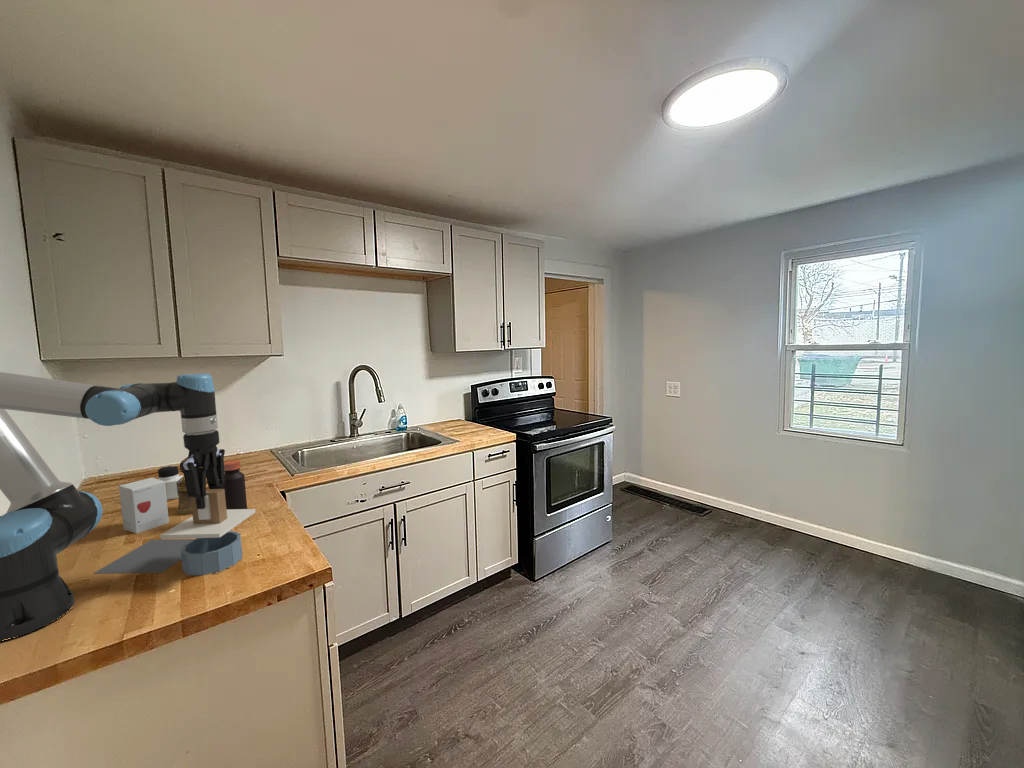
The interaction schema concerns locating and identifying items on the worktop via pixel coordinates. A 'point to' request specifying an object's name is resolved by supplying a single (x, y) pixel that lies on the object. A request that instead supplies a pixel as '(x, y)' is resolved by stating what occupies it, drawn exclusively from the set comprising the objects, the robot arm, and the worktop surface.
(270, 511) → the worktop surface
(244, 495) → the vinegar
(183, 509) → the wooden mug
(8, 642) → the worktop surface
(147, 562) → the mat
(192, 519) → the lid
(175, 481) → the medicine bottle
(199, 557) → the bowl
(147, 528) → the supplement box
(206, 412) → the robot arm
